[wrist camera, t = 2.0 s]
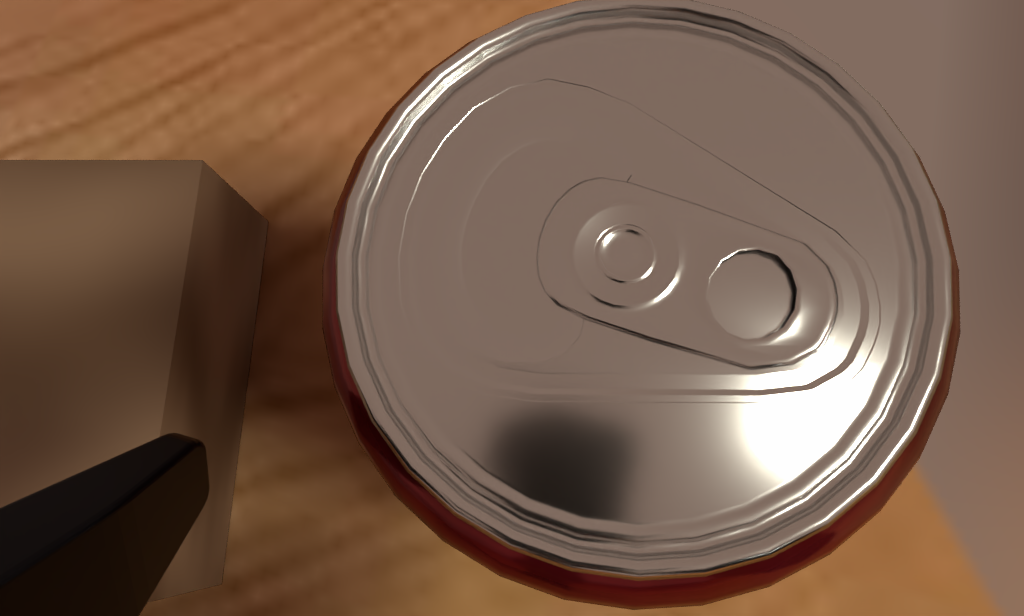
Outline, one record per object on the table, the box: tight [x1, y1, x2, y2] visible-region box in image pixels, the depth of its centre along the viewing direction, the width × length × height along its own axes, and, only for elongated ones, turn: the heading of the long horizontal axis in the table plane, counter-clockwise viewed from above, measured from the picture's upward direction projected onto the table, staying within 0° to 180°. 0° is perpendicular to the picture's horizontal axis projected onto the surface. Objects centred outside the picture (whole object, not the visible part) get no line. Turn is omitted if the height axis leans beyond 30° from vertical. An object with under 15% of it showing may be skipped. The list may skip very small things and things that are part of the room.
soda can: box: [323, 0, 960, 610], centre depth 14 cm, size 7×7×12 cm
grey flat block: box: [0, 160, 268, 603], centre depth 18 cm, size 10×9×4 cm
